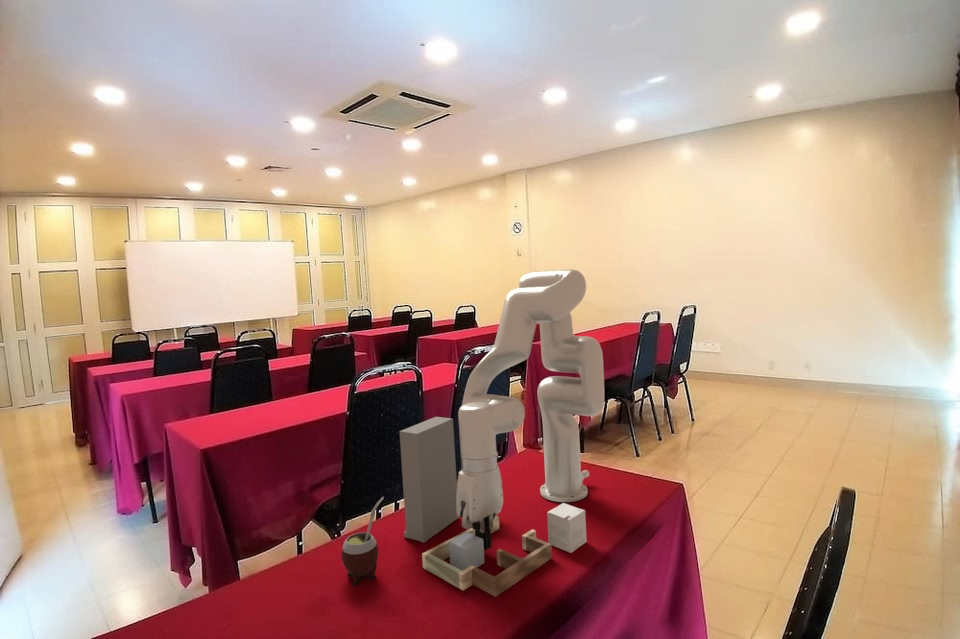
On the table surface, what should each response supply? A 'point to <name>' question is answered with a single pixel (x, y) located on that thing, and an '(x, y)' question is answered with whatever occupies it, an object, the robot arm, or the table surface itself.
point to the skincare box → (566, 527)
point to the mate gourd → (361, 554)
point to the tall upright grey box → (428, 477)
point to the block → (466, 551)
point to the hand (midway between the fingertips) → (483, 546)
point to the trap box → (510, 562)
